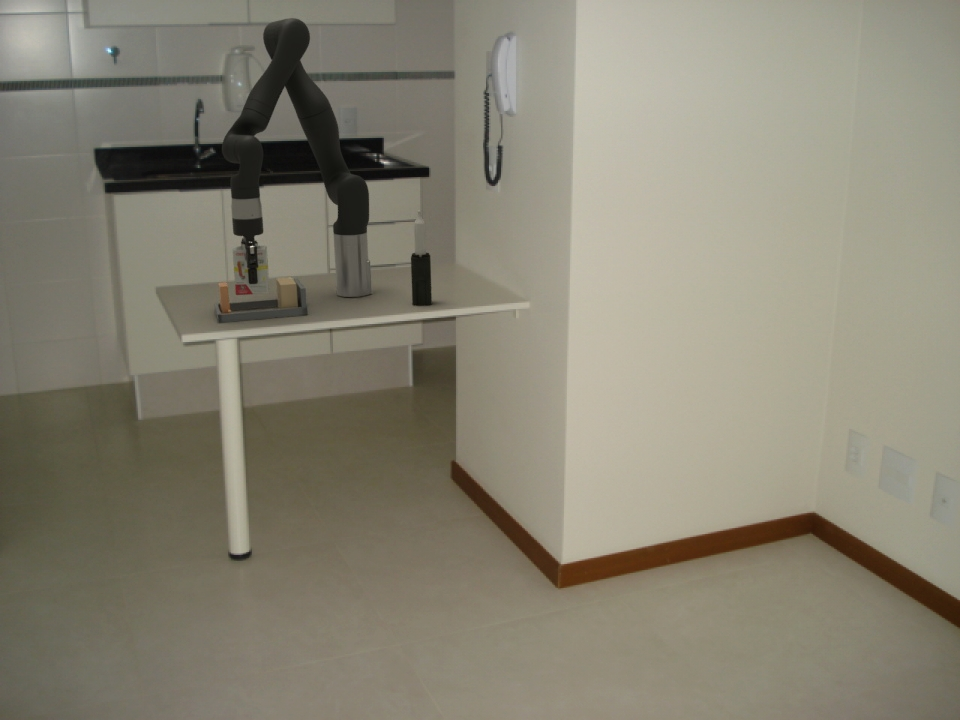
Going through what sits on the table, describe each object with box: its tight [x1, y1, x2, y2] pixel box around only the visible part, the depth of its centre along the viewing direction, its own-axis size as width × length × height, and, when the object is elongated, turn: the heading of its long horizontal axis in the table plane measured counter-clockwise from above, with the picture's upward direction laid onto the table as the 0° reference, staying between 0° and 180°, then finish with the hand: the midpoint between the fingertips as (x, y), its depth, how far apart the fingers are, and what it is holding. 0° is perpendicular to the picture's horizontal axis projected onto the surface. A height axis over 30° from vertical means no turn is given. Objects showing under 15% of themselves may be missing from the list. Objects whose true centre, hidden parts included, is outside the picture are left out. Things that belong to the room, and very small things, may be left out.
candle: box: [410, 209, 433, 306], centre depth 265 cm, size 5×5×25 cm
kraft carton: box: [275, 276, 298, 309], centre depth 262 cm, size 4×9×8 cm, turn 18°
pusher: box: [218, 281, 232, 314], centre depth 257 cm, size 2×10×8 cm, turn 18°
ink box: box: [232, 244, 270, 296], centre depth 257 cm, size 9×5×12 cm, turn 100°
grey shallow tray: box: [213, 278, 308, 324], centre depth 260 cm, size 22×13×7 cm, turn 108°
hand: (252, 281), depth 258 cm, fingers closed on ink box, 5 cm apart
